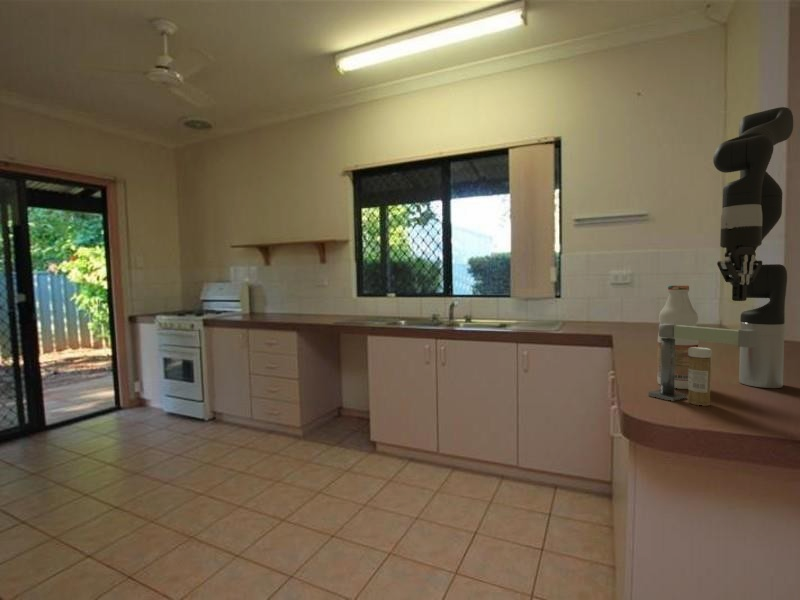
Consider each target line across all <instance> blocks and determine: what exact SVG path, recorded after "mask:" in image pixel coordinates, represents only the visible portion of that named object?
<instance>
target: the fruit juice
mask: <svg viewBox="0 0 800 600" xmlns="http://www.w3.org/2000/svg"><path fill="white" fill-rule="evenodd" d="M667 291H668V296H667V299H666V301H665V304H664V306H663V307H662V309H661V310H659V311H660V312H659V313H658V321H659V324H676V325H685V326H697V324H698V321H699V315H698V312H697V311H696V310H695V308H694V307H693V305H692V302H691V300H690V298H689V297H690V296H689V294H688V293H689V291H690V286H689V285H687V284H686V285H675V284H674V285H667ZM661 338H667V337H660V336H659V332H658V334H657V368H656V369H657V370H656V372H657V374H656V375H657V377H656V379H657V383H658V384H659V385H660V384H661ZM691 347H699V341H698V340H689V339H680V338H675V384H674V389H676V388H677V389H679V390H689V389H688V374H689V355H688V349H689V348H691Z"/></svg>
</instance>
